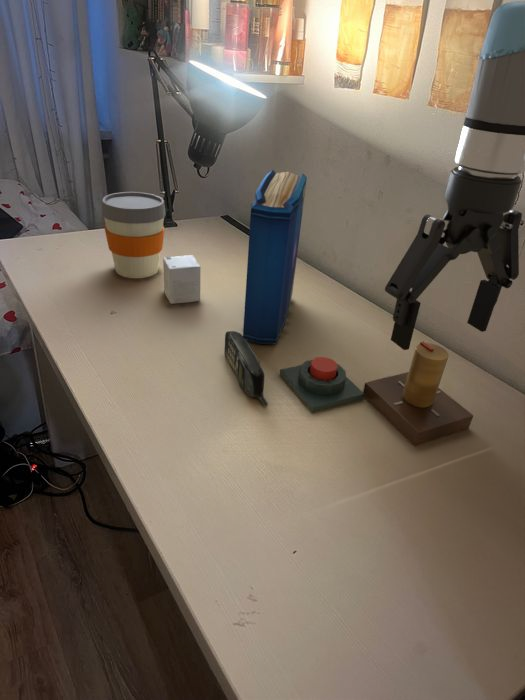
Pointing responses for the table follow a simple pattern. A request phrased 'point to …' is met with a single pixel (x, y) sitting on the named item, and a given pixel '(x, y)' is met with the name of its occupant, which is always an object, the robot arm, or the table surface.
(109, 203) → the reusable coffee cup
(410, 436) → the plate
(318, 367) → the bell button
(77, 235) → the table surface
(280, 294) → the book
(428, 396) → the lock knob
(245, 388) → the mobile phone
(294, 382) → the push button base
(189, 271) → the white cardboard box
